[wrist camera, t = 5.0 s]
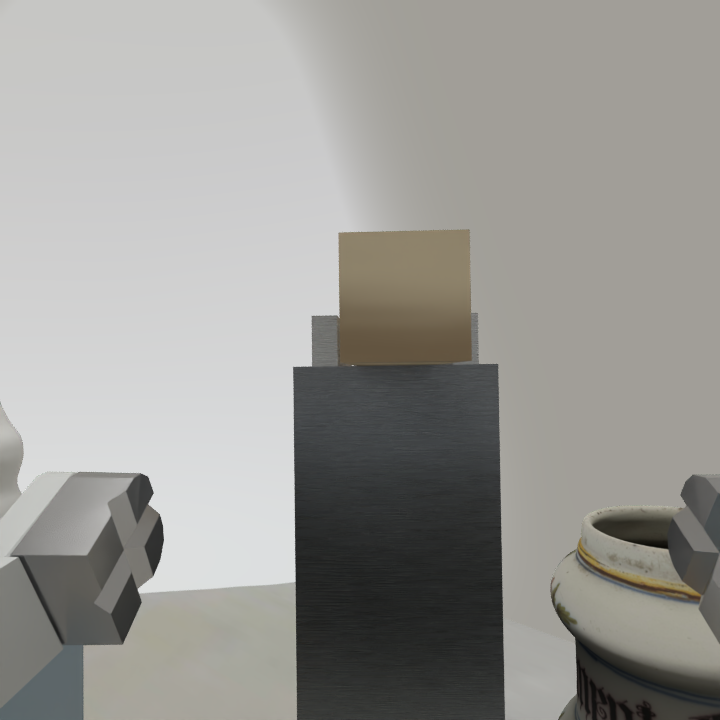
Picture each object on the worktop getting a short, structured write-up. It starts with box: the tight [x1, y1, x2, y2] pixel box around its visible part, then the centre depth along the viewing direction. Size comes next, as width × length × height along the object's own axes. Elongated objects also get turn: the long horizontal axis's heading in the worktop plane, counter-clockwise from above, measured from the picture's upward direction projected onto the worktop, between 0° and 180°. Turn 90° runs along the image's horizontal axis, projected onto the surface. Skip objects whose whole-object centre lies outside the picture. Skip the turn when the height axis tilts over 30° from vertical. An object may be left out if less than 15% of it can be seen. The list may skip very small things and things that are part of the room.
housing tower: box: [293, 313, 505, 720], centre depth 26 cm, size 12×8×28 cm, turn 178°
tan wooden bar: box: [339, 230, 472, 366], centre depth 23 cm, size 22×3×3 cm, turn 178°
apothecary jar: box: [551, 505, 720, 720], centre depth 26 cm, size 12×12×18 cm
